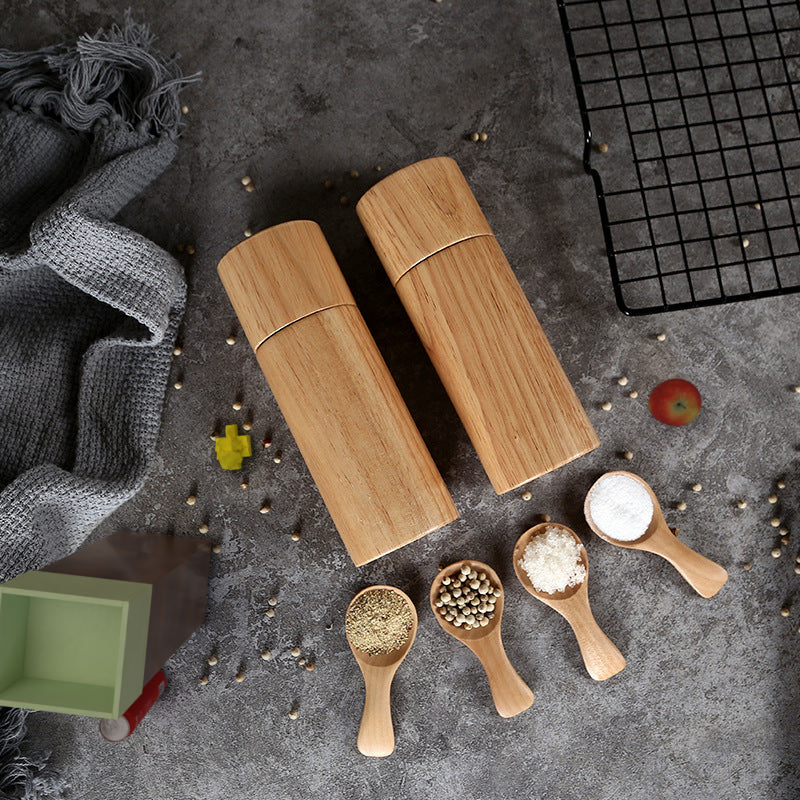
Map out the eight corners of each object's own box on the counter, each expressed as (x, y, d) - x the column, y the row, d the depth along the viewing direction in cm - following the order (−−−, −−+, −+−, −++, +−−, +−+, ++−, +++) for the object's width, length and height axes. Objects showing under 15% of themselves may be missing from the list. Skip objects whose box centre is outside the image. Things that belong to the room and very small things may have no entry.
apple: (695, 392, 114) (722, 392, 104) (673, 432, 114) (698, 436, 104) (655, 370, 114) (677, 369, 104) (633, 411, 114) (653, 413, 104)
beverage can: (163, 661, 118) (125, 701, 103) (172, 695, 118) (136, 740, 103) (132, 669, 118) (90, 710, 103) (141, 703, 118) (101, 749, 103)
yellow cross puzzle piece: (248, 423, 116) (236, 425, 108) (253, 466, 116) (241, 472, 109) (217, 426, 116) (202, 429, 109) (221, 469, 117) (207, 475, 109)
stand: (113, 610, 118) (22, 676, 91) (121, 529, 117) (32, 572, 90) (204, 620, 117) (140, 690, 90) (212, 539, 117) (150, 586, 90)
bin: (20, 678, 91) (-15, 704, 83) (30, 570, 90) (-4, 586, 83) (142, 693, 90) (117, 720, 83) (152, 584, 90) (129, 601, 83)
